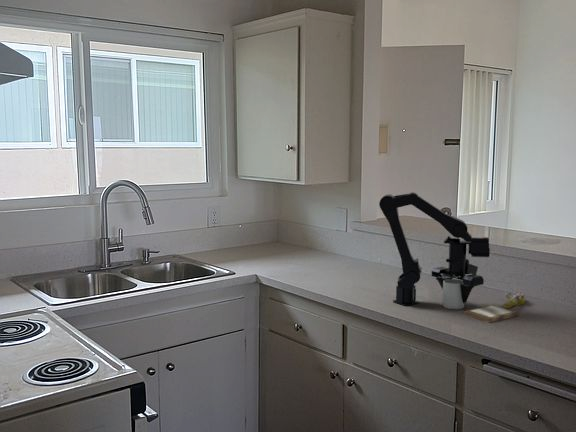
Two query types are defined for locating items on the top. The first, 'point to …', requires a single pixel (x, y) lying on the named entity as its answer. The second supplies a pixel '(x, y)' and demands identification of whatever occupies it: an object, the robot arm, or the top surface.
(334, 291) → the top surface
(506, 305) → the toy
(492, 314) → the wooden picture frame
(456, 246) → the robot arm
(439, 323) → the top surface
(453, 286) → the cup
